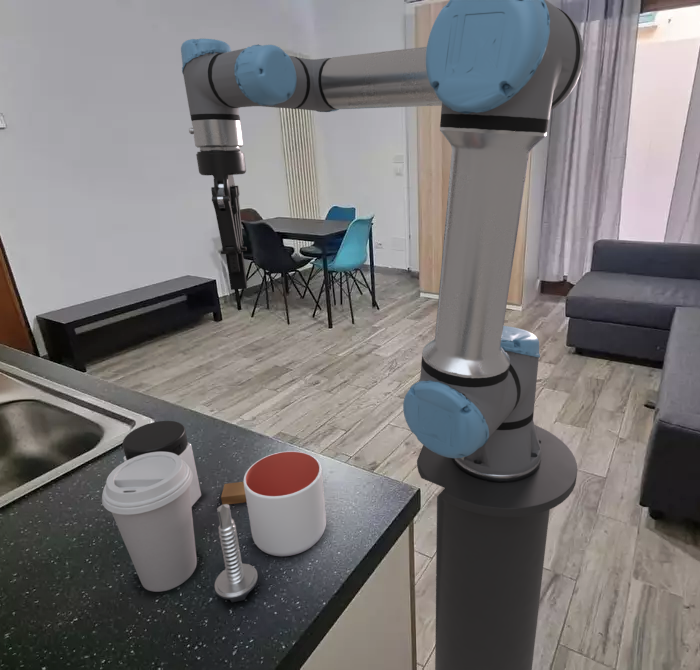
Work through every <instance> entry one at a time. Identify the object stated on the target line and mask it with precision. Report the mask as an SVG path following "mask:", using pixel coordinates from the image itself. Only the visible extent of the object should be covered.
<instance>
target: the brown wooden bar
mask: <svg viewBox="0 0 700 670" xmlns="http://www.w3.org/2000/svg"><path fill="white" fill-rule="evenodd" d="M220 500H221V505H224V504H228V505H234V504H235V505H236V504H244V503H247V501H246V495H245V489H244V481H236V482H229V483H224V484H223V487H222V492H221V496H220Z"/></svg>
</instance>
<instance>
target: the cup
mask: <svg viewBox="0 0 700 670" xmlns="http://www.w3.org/2000/svg"><path fill="white" fill-rule="evenodd" d="M243 482H244V489H245V495H246V501H247V502H246V506H247V512H248V519H249V520H248V521H249V527H250V533H251V538H252V541H253V542H254V544H255V546H256V547H257V548H258V549H259V550H261V551H262V552H263V553H265V554H268V555H271V556H275V557H289V556H295V555H298V554H301V553H303V552H305V551H308V550H309V549H310V548H312V547H313V546H315V544H316V543H317V542H319V541H320V540H321V538H322V536H323V534H324V532H325V530H326V526H327V512H326V500H325V490H324V489H325V488H324V478H323V469H322V465H321V462H320V461H319V460H318V458H317V457H316V456H314V455H312V454H310V453H307V452H304V451H297V450H296V451H295V450H288V451H287V450H286V451H280V452H275V453H272V454H269V455H266V456H263V457H262V458H260V459H258V460H257V461H255V462H254V463H252V465H251V466H250V467H248V469H247V470H246V471H245V474H244V477H243Z"/></svg>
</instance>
